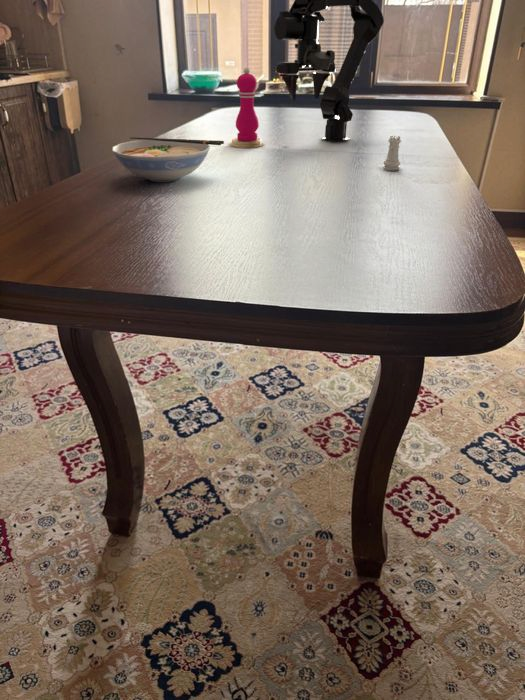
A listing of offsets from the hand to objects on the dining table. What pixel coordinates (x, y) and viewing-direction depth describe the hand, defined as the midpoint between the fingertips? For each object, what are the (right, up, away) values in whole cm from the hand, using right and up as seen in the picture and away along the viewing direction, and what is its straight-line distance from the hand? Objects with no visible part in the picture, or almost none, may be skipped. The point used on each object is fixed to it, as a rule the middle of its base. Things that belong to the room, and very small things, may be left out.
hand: (305, 99), depth 159 cm
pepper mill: (-18, -10, +6) cm, 21 cm away
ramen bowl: (-37, -35, -33) cm, 60 cm away
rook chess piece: (+21, -29, -23) cm, 42 cm away
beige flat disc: (-18, -11, +6) cm, 22 cm away
